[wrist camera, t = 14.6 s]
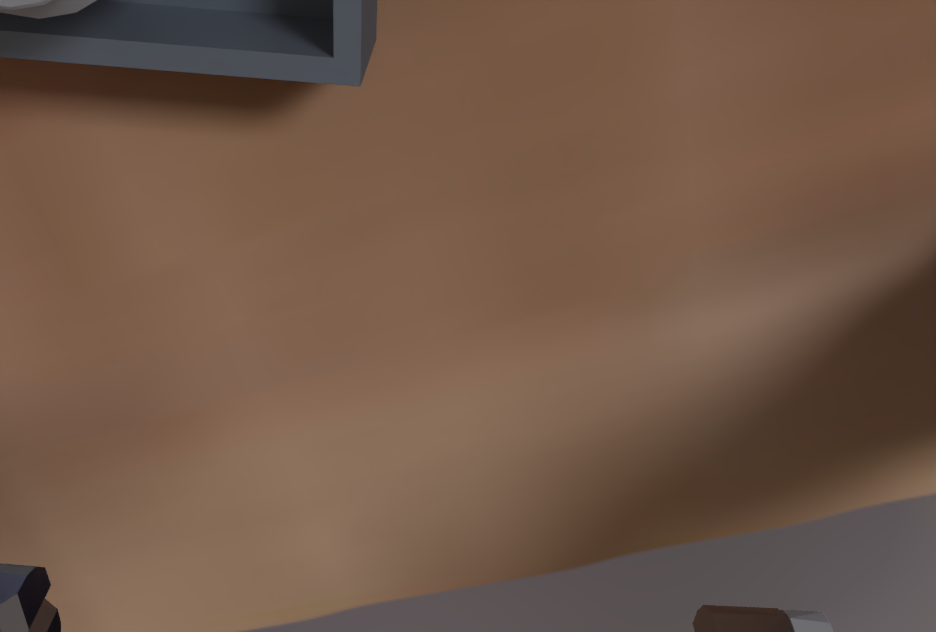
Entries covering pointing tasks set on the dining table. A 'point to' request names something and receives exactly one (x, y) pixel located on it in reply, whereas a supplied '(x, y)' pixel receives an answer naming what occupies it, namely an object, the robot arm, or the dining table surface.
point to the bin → (206, 37)
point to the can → (42, 7)
